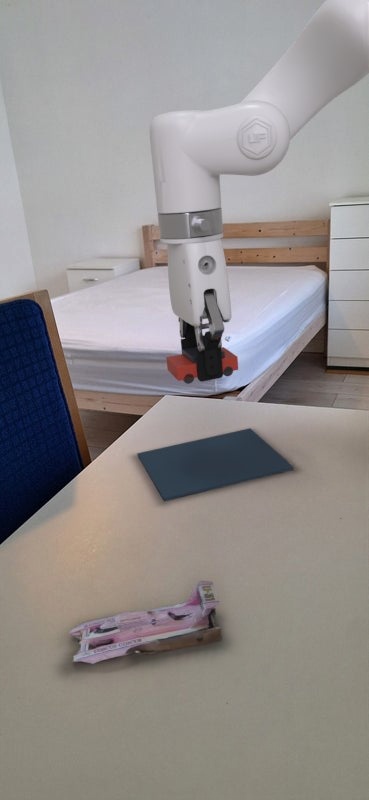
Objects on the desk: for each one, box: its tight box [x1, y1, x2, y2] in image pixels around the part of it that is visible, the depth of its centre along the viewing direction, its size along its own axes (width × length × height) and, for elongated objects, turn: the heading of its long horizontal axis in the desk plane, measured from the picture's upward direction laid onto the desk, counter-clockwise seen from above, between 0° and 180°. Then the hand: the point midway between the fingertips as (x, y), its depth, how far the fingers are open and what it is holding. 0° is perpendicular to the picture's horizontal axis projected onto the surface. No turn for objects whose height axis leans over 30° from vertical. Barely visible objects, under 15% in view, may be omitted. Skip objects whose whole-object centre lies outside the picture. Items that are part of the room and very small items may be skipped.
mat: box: [137, 427, 294, 502], centre depth 83 cm, size 18×14×1 cm
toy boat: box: [68, 580, 222, 665], centre depth 52 cm, size 13×6×4 cm, turn 98°
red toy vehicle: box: [165, 346, 239, 385], centre depth 76 cm, size 8×3×5 cm
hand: (202, 371), depth 77 cm, fingers closed on red toy vehicle, 5 cm apart
